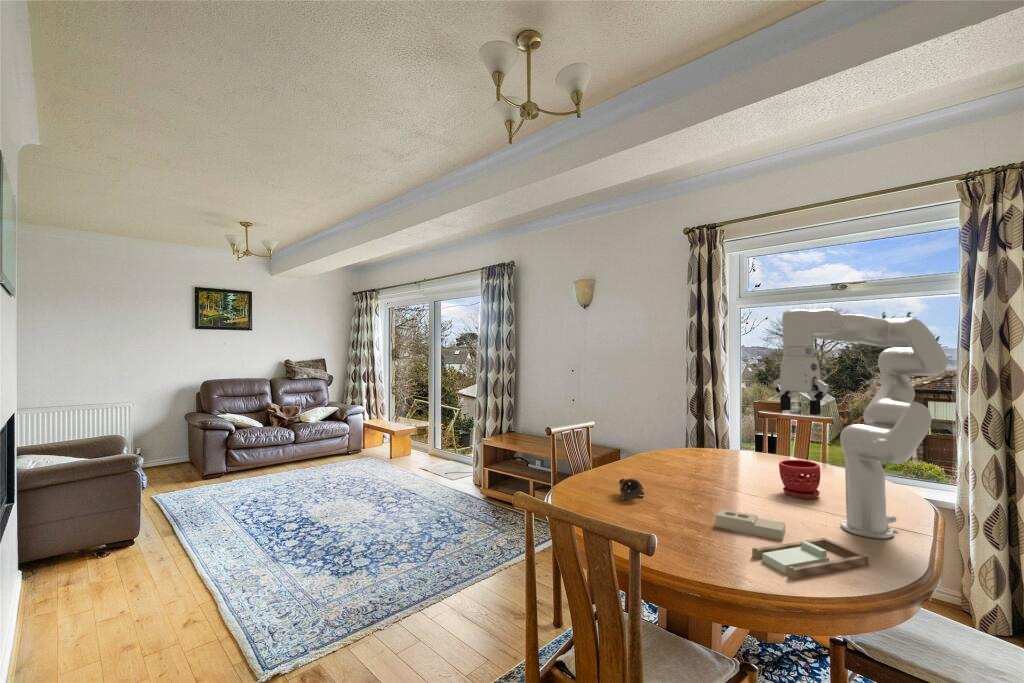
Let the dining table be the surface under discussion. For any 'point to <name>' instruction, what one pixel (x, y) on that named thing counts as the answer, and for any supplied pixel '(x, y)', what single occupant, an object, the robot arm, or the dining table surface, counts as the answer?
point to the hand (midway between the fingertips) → (799, 412)
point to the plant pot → (800, 478)
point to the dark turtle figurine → (630, 488)
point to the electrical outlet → (750, 524)
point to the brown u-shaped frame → (823, 567)
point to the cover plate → (795, 556)
